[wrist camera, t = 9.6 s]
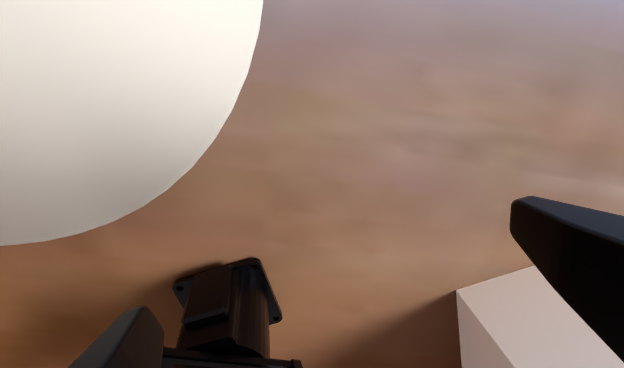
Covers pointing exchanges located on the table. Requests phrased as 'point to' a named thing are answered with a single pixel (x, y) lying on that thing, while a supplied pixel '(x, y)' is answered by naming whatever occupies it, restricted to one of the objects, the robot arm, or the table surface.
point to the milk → (525, 326)
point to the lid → (110, 104)
